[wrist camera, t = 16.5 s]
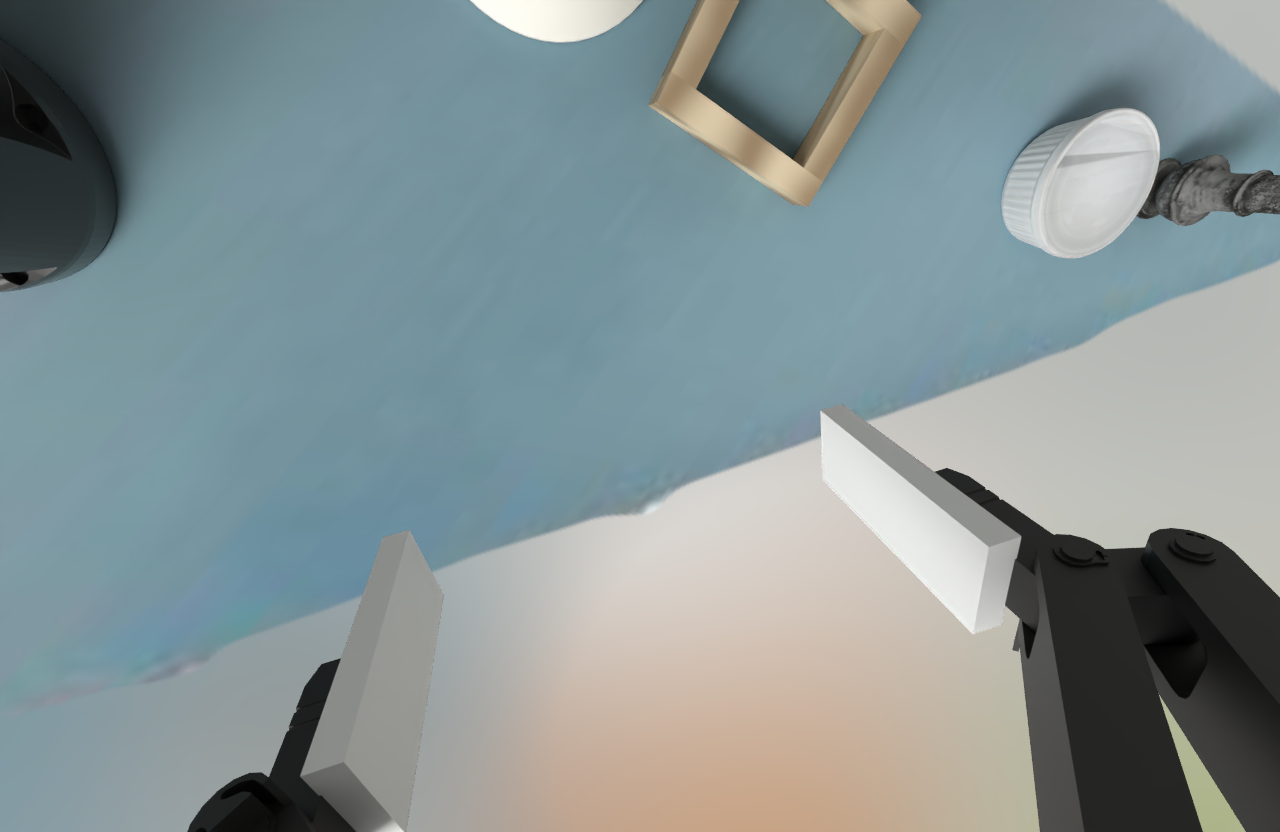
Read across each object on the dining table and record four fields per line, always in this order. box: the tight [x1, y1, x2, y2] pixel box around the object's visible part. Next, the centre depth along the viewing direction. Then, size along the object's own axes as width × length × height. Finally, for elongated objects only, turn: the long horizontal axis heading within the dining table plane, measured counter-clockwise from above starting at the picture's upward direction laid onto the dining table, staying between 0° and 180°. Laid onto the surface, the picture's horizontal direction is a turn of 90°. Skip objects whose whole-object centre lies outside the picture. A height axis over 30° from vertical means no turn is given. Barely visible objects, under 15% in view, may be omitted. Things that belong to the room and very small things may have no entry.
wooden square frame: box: [648, 0, 922, 207], centre depth 36 cm, size 14×14×2 cm
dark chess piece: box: [1136, 155, 1280, 226], centre depth 44 cm, size 6×6×12 cm
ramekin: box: [1001, 108, 1160, 258], centre depth 44 cm, size 11×11×5 cm
